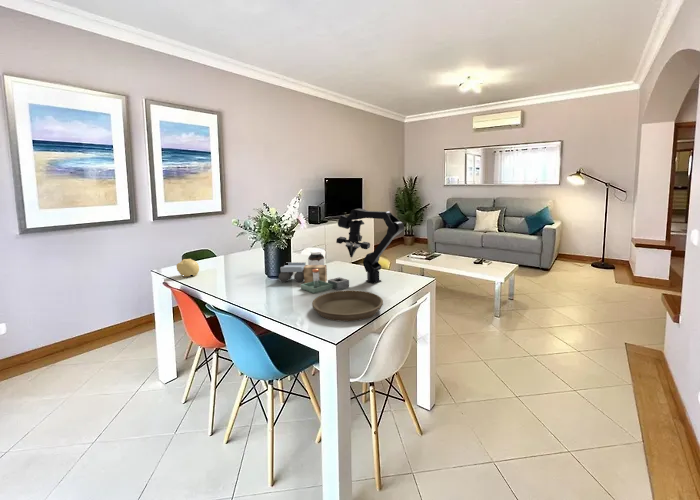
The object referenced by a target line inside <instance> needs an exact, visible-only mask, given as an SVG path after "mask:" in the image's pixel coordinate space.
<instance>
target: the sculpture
mask: <svg viewBox="0 0 700 500" xmlns="http://www.w3.org/2000/svg"><path fill="white" fill-rule="evenodd" d="M176 270H177V272H178V273H179V274H180V276H181V275H184V276H182V277H183V278H187V277H191V276H190V275H193V276H192V277H194V276H195V277H196V276H197V275H198V274H199V272H200V266H199V264H198V263H197V260H194V259H192V258H184V259H182V260H181V261H180V262H178V263H177V264H176Z"/></svg>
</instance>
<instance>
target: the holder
mask: <svg viewBox="0 0 700 500" xmlns="http://www.w3.org/2000/svg"><path fill="white" fill-rule="evenodd" d="M327 283H330V284H333V289H332V290H334V291H342V290H344V289H348V288H350V279H346V278H343V277H341V276H340V277H335V278H332V279H327Z"/></svg>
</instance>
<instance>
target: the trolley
mask: <svg viewBox="0 0 700 500" xmlns="http://www.w3.org/2000/svg"><path fill="white" fill-rule="evenodd" d="M287 263H288V265H285V264H284V265H283V266H280V273H278V279H279V281H280V282H282V283H286V282H288V281H289V280H290V278H292V277H293V275H294V277H293V278H294V281H296V282H297V283H302V282H304V266H305V265H307V264H306V262H287Z"/></svg>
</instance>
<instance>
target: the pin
mask: <svg viewBox="0 0 700 500" xmlns="http://www.w3.org/2000/svg"><path fill="white" fill-rule="evenodd" d="M312 272H313V284H314V288H318V287H320V282H319V269H312Z"/></svg>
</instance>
